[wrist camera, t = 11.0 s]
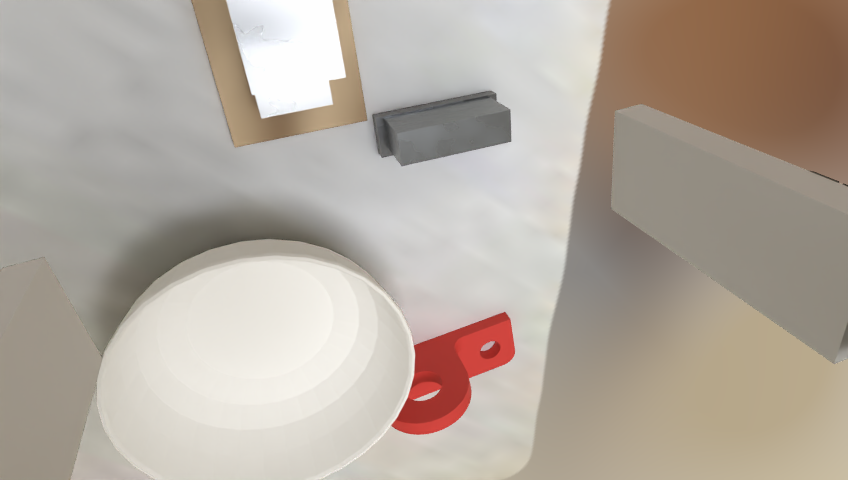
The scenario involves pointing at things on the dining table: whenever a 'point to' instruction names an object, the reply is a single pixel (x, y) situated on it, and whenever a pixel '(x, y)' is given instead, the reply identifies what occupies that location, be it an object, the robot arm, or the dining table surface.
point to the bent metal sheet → (288, 52)
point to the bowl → (255, 366)
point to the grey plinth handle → (442, 128)
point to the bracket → (452, 373)
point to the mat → (244, 105)
